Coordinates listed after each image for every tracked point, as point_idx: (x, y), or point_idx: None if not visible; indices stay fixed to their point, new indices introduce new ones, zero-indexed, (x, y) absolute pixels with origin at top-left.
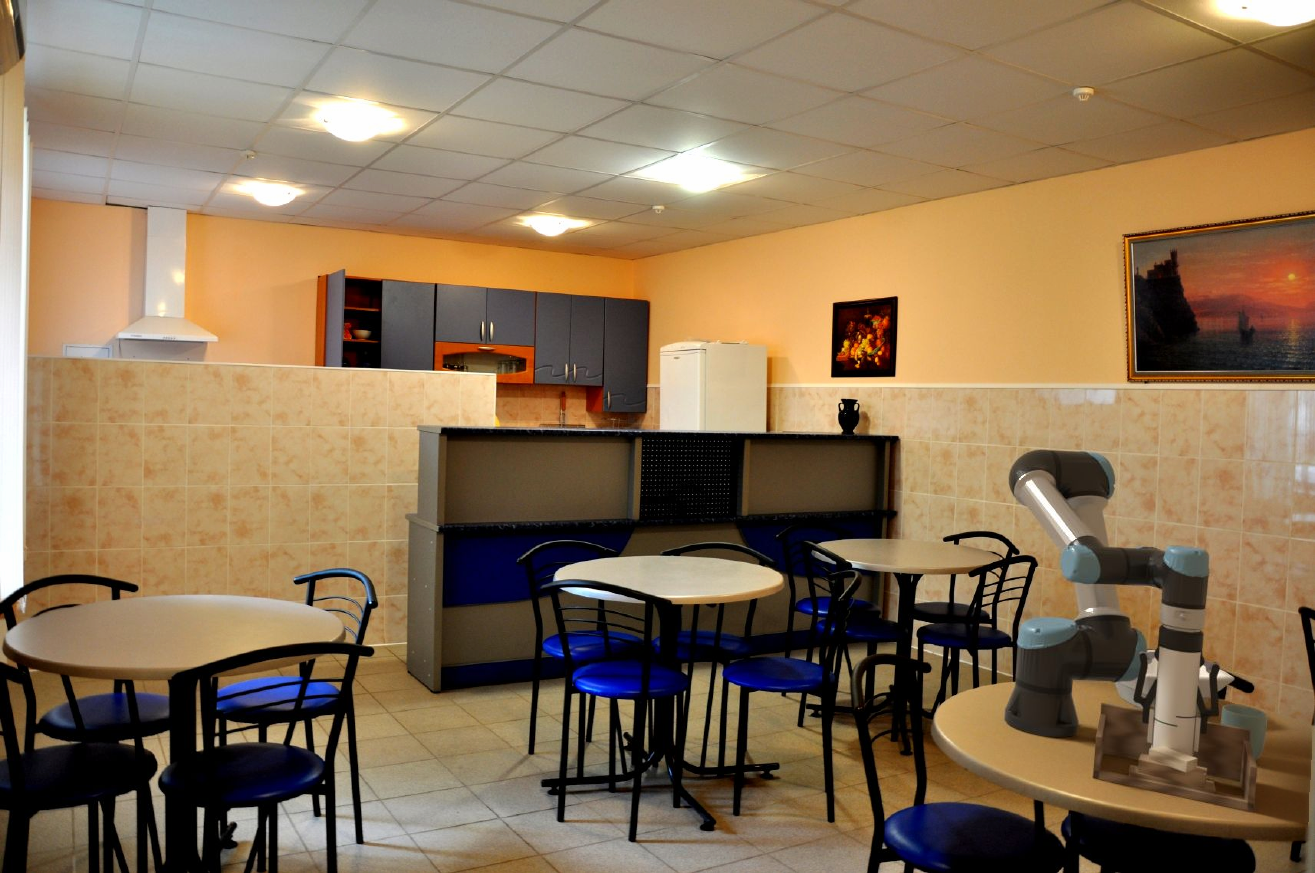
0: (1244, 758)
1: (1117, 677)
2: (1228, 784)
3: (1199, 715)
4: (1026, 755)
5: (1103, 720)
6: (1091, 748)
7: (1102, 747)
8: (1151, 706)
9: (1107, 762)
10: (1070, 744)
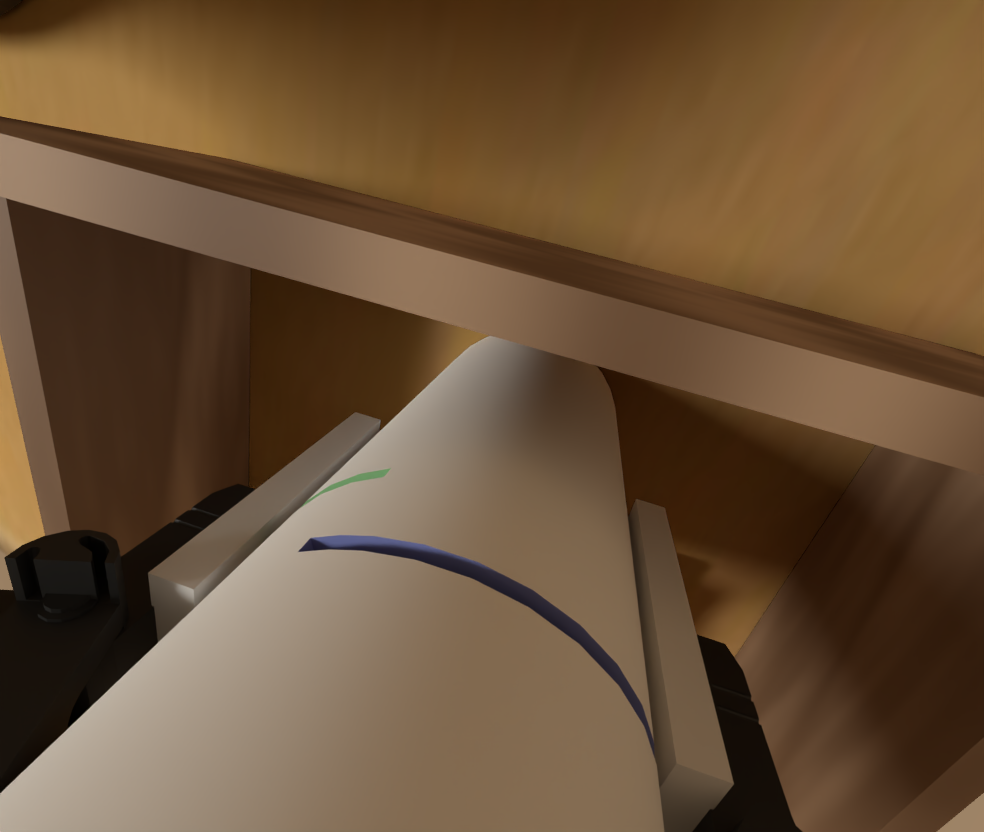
0: (961, 606)
1: None
2: (799, 448)
3: (691, 818)
4: (7, 371)
5: (32, 365)
6: (197, 135)
7: (191, 386)
8: (168, 609)
9: (273, 337)
10: (101, 115)
